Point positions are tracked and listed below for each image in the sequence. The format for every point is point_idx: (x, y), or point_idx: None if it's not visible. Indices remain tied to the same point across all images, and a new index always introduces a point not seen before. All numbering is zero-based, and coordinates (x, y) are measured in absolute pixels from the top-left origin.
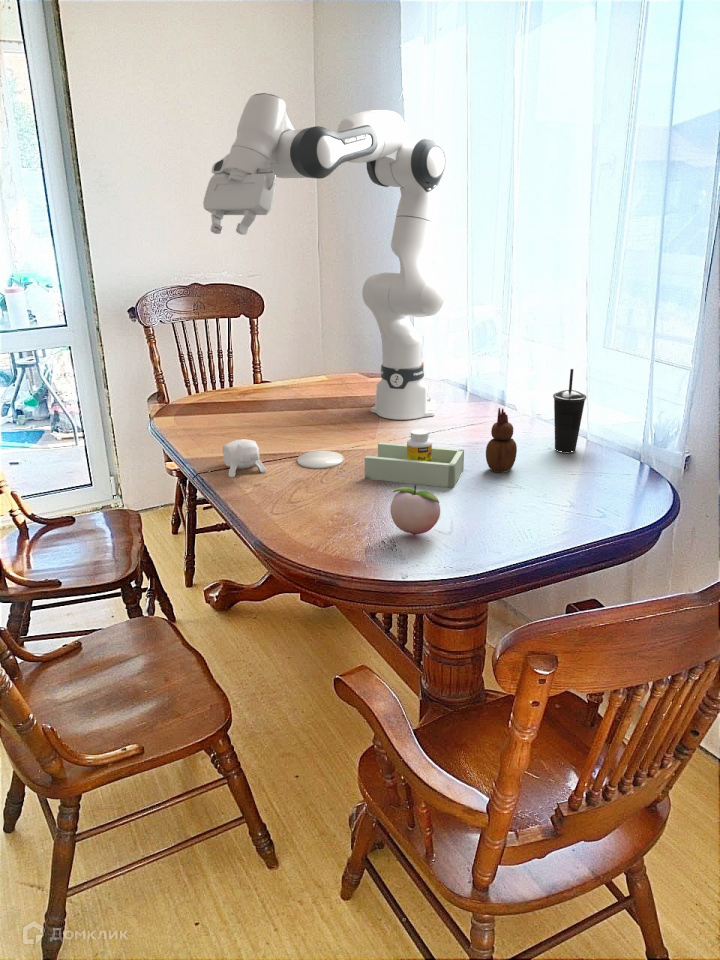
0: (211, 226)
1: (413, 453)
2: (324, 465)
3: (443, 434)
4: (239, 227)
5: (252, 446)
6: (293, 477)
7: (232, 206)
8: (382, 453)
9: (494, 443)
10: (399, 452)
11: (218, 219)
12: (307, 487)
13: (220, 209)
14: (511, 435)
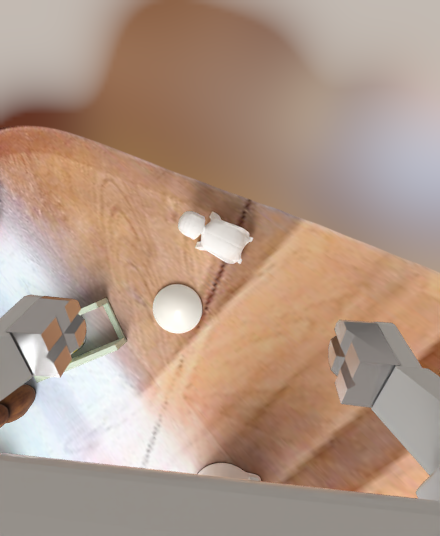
0: (402, 342)
1: None
2: (157, 295)
3: (135, 451)
4: (27, 309)
5: (180, 223)
6: (163, 255)
7: (44, 477)
8: (115, 342)
9: (3, 399)
10: (97, 350)
11: (435, 456)
12: (132, 245)
13: (386, 499)
14: None
